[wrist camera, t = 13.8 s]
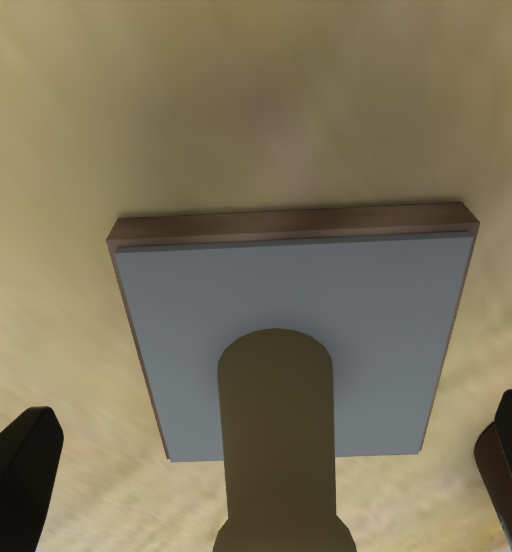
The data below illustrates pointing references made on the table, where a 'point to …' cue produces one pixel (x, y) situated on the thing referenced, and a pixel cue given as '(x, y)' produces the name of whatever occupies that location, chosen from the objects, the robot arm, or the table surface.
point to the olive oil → (496, 477)
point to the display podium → (297, 311)
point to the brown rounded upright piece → (279, 445)
